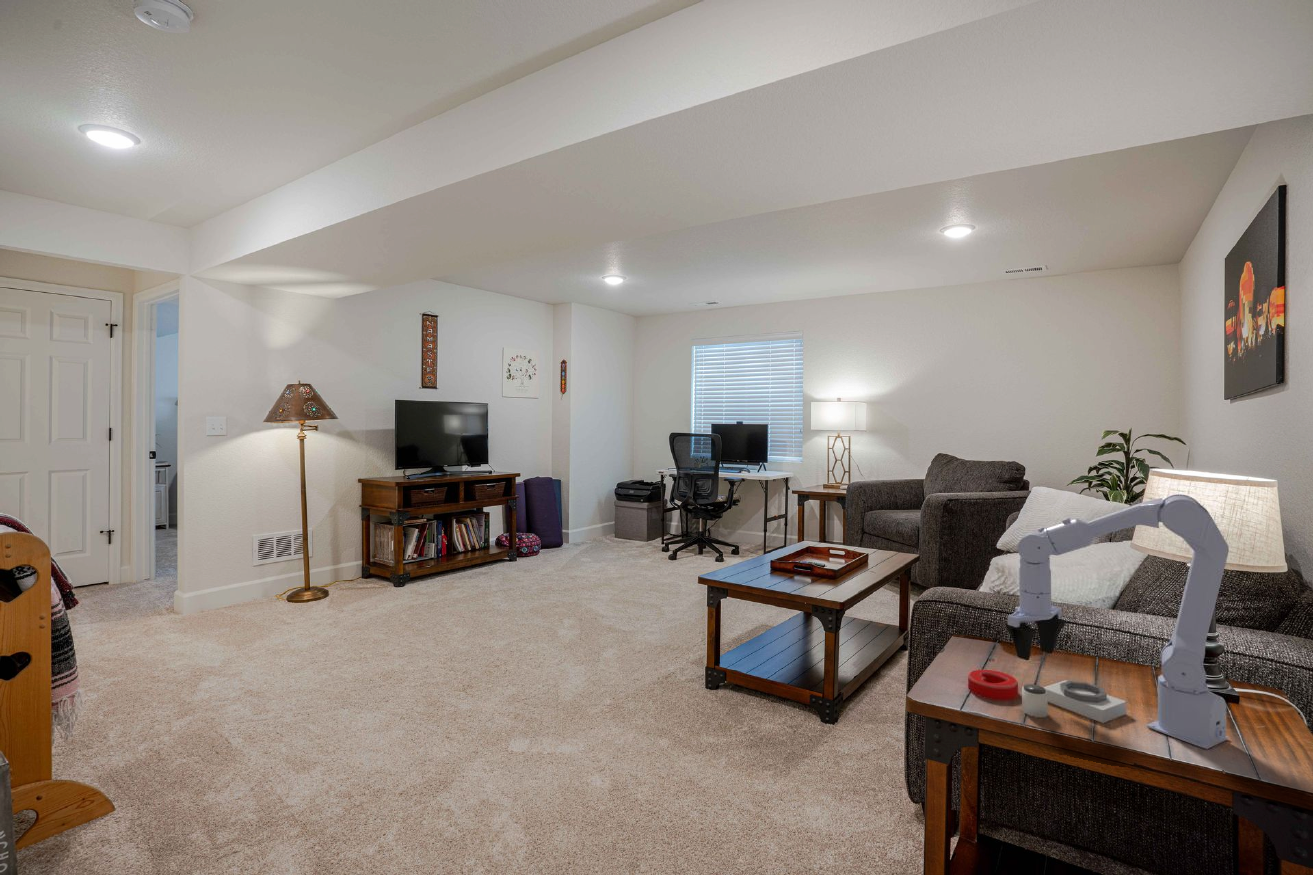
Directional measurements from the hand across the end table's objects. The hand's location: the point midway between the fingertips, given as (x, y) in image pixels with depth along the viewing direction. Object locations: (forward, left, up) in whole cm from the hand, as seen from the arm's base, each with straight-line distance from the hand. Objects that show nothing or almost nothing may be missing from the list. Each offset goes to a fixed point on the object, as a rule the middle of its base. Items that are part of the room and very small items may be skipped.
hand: (1035, 655), depth 135 cm
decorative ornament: (+8, +3, -10) cm, 13 cm away
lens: (-3, +5, -10) cm, 12 cm away
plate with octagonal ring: (-6, -6, -10) cm, 13 cm away
